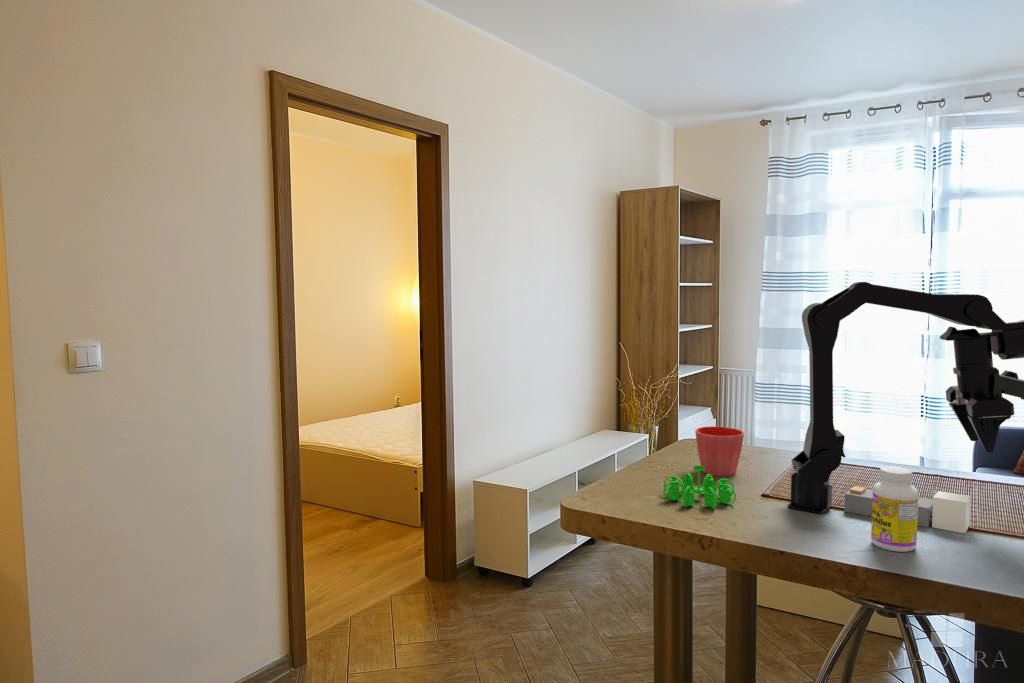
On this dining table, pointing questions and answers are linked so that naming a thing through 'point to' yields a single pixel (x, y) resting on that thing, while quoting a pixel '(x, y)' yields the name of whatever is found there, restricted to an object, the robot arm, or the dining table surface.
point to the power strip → (862, 499)
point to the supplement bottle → (895, 510)
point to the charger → (951, 511)
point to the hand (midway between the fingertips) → (981, 446)
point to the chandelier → (699, 489)
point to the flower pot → (719, 449)
